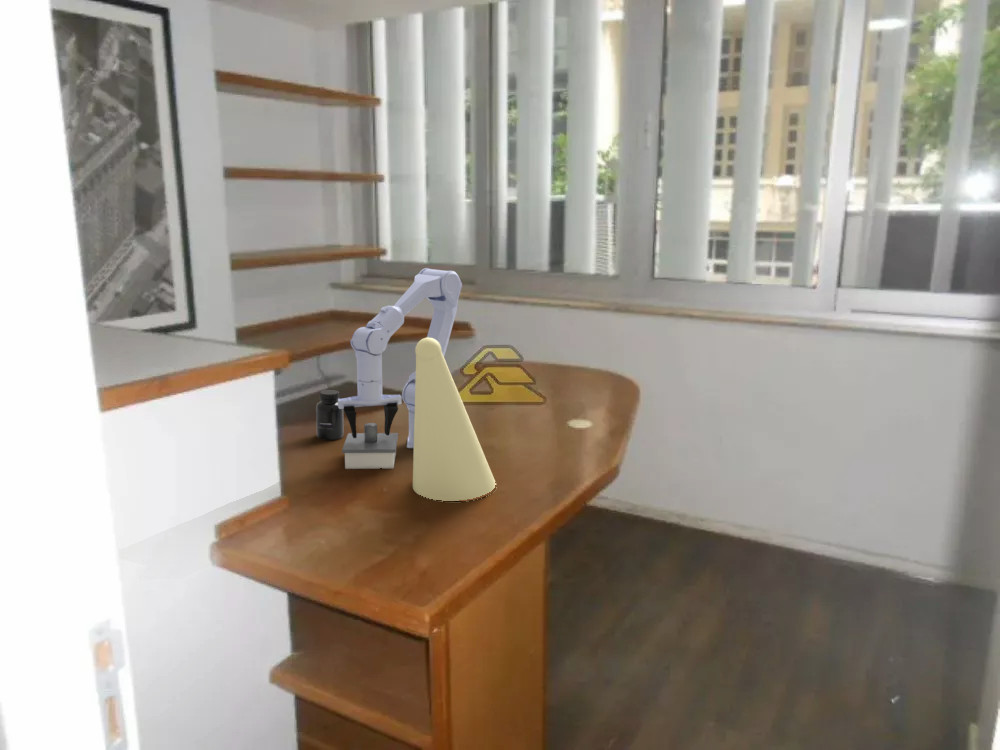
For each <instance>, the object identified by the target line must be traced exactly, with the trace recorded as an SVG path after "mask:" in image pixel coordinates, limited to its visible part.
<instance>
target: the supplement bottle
mask: <svg viewBox="0 0 1000 750" xmlns="http://www.w3.org/2000/svg"><path fill="white" fill-rule="evenodd" d="M338 399H340V391H339V390H334V389H325V390H322V391H320V393H319V400H320V401H319V402H317V403H316V407H315V412H316V413H315V414H316V415H315V416H316V417H315V418H316V419H315V421H316V437H317V438H318V439H319V440H323V441H336V439H337V440H340V439H342V438H343V437H344V433H345V431H344V426H345V425H344V410H343V409H339V407H338Z"/></svg>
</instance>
